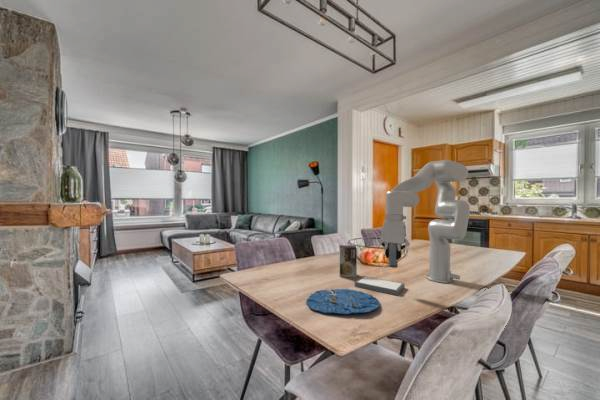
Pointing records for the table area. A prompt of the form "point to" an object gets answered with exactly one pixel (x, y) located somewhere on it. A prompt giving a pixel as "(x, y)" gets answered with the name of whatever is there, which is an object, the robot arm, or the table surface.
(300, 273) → the table surface
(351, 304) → the decorative plate
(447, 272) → the robot arm
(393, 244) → the marker
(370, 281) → the drawing board
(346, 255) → the coffee box
